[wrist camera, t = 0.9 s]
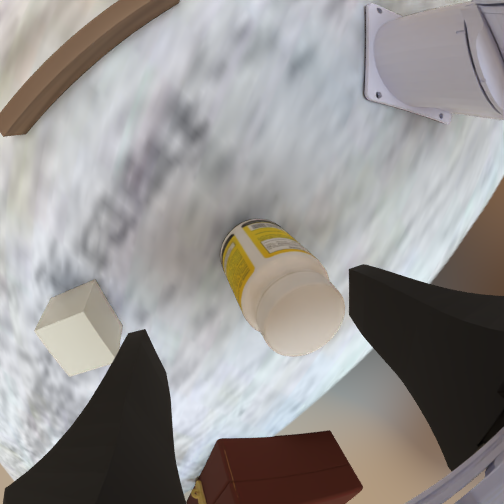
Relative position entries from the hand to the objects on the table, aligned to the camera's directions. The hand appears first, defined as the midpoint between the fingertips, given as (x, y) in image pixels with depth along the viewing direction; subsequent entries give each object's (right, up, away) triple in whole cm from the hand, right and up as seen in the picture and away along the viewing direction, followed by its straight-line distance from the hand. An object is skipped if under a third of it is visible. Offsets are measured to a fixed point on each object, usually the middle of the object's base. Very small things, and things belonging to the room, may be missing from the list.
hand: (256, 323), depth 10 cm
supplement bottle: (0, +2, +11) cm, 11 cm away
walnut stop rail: (-9, +14, +3) cm, 17 cm away
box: (-1, -28, +24) cm, 37 cm away
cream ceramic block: (-12, -2, +9) cm, 15 cm away
